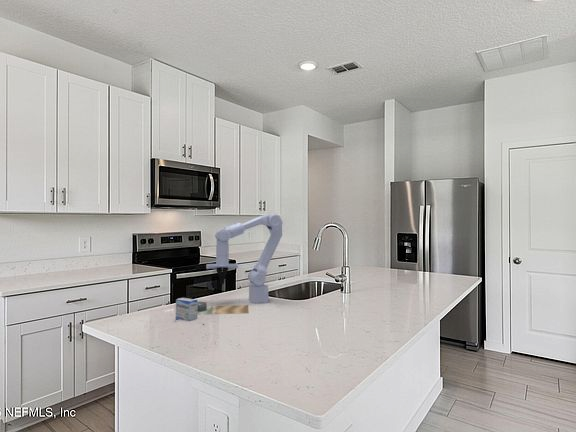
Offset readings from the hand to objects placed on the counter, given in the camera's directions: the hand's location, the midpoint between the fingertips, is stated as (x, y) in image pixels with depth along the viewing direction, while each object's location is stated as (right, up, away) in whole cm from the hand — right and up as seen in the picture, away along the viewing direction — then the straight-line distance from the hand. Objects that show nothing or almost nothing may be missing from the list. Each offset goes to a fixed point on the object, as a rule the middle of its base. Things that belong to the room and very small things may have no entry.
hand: (222, 284), depth 175 cm
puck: (-8, -9, -11) cm, 16 cm away
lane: (-1, -11, -10) cm, 15 cm away
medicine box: (-10, -11, -23) cm, 28 cm away
